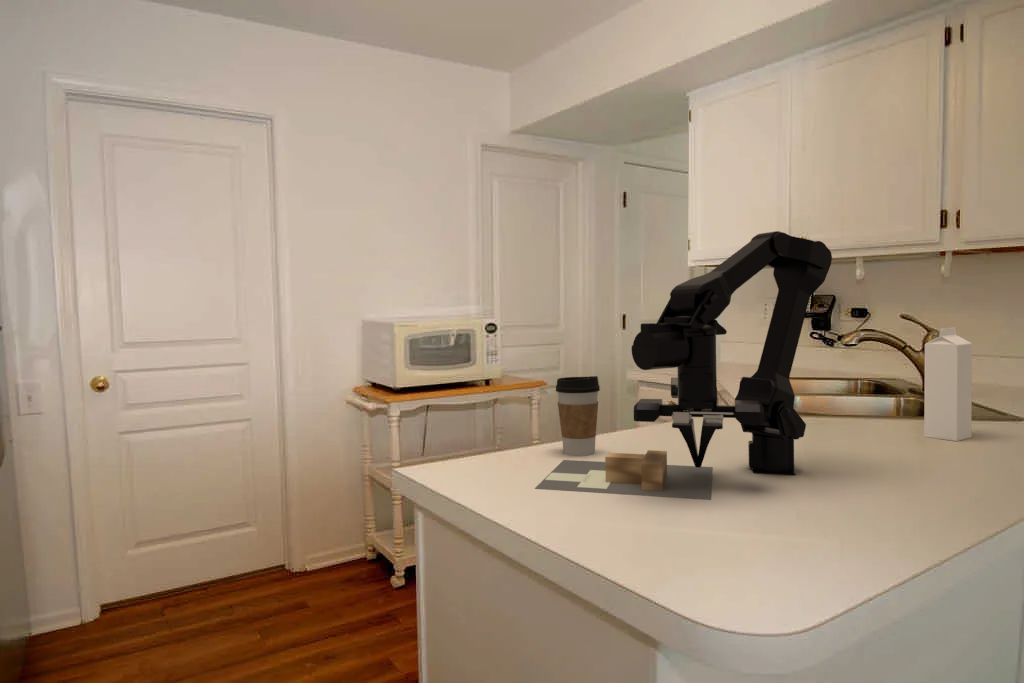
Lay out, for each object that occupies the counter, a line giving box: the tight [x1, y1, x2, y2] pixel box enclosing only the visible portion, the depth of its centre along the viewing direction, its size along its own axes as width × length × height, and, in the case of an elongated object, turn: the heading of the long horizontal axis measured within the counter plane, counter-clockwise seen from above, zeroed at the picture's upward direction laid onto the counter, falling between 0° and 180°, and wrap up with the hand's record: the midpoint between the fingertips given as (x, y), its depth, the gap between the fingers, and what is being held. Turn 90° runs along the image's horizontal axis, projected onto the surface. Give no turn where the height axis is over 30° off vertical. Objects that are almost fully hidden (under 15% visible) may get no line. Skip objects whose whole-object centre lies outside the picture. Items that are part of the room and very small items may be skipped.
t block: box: [604, 449, 668, 491], centre depth 101 cm, size 9×9×4 cm
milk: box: [923, 326, 973, 442], centre depth 128 cm, size 6×6×22 cm
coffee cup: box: [555, 375, 601, 457], centre depth 122 cm, size 8×8×15 cm
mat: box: [534, 459, 714, 501], centre depth 104 cm, size 26×19×1 cm
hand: (698, 466), depth 98 cm, fingers closed
